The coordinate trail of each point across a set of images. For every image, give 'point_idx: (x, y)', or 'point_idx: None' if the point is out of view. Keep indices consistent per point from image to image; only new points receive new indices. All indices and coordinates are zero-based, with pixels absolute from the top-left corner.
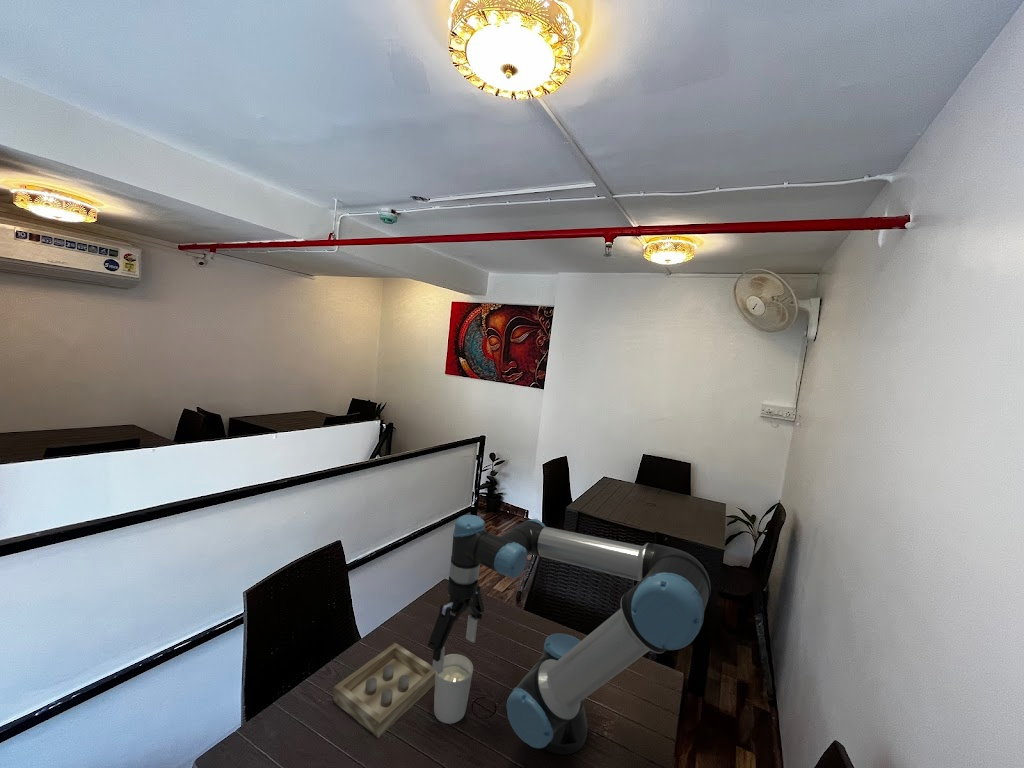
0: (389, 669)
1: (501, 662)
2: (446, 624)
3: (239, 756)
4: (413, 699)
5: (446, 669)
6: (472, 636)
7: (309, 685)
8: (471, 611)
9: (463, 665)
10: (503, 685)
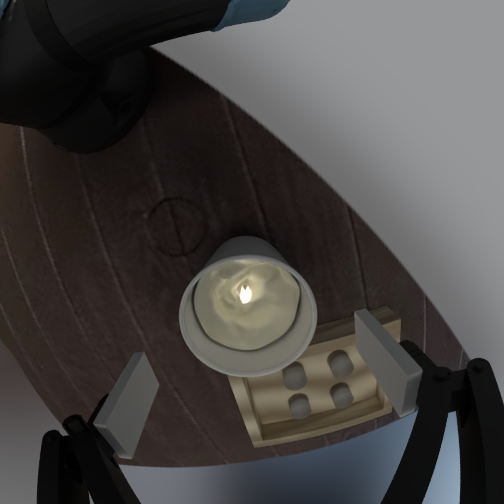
0: (302, 410)
1: (75, 293)
2: (491, 477)
3: None
4: None
5: (240, 343)
6: (139, 375)
7: (380, 426)
8: (123, 489)
9: (192, 322)
10: (104, 243)
